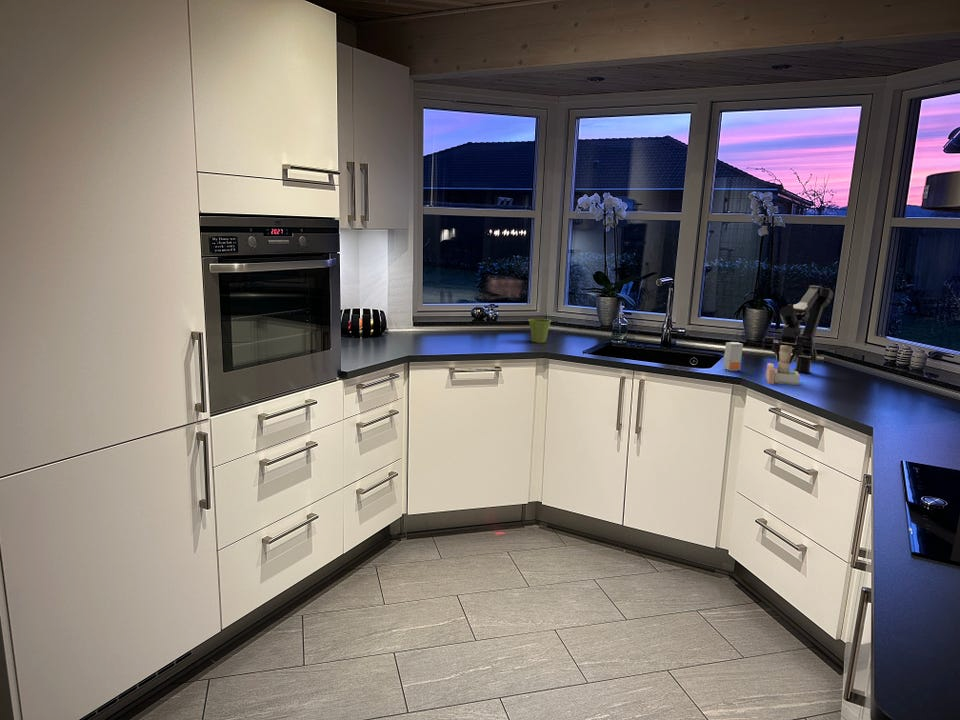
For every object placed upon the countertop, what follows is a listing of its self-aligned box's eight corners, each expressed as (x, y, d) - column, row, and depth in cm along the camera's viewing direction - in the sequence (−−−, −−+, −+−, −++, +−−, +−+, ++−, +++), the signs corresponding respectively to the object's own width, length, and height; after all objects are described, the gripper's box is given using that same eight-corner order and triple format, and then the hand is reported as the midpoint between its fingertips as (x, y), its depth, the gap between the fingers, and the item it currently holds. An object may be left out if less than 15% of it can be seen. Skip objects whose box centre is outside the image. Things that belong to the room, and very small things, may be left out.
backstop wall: (765, 377, 285) (767, 363, 284) (770, 377, 284) (772, 363, 283) (768, 384, 272) (770, 369, 271) (773, 384, 271) (775, 370, 270)
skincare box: (728, 370, 295) (731, 343, 292) (722, 368, 299) (725, 342, 296) (740, 370, 296) (743, 343, 294) (734, 368, 300) (737, 342, 298)
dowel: (780, 375, 279) (784, 344, 277) (790, 377, 276) (794, 346, 273) (774, 376, 277) (778, 345, 274) (784, 379, 273) (788, 347, 271)
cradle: (772, 378, 282) (773, 369, 281) (795, 380, 279) (797, 371, 278) (774, 382, 273) (775, 373, 273) (798, 385, 271) (799, 375, 270)
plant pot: (540, 339, 355) (541, 318, 353) (554, 343, 346) (556, 321, 344) (522, 340, 349) (523, 319, 346) (536, 344, 339) (538, 322, 337)
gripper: (766, 317, 280) (759, 347, 272) (816, 322, 270) (810, 353, 263) (766, 333, 288) (759, 363, 281) (815, 339, 279) (809, 369, 272)
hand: (784, 362), depth 274 cm, fingers closed on dowel, 4 cm apart
